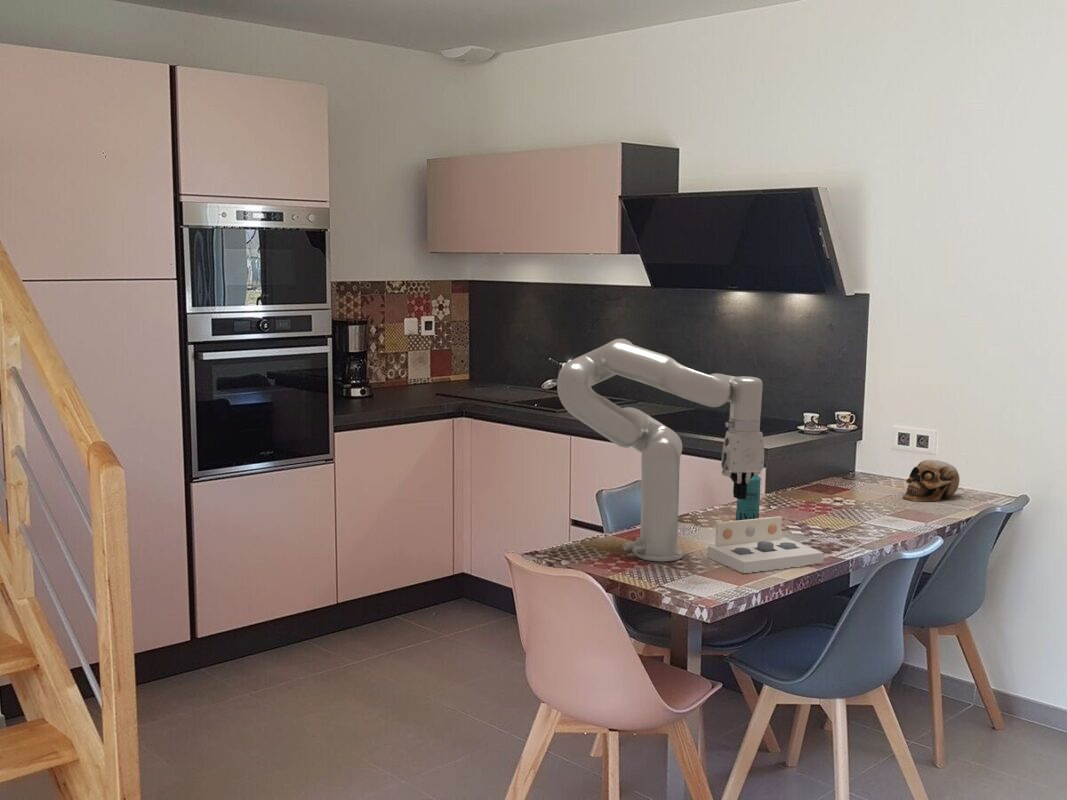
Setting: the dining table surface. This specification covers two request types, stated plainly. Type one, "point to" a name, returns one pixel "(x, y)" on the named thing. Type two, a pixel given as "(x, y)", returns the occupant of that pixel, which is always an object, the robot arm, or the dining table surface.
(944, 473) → the brown skull
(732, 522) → the button panel
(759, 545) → the button middle
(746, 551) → the button left
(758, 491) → the beverage bottle
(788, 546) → the button right
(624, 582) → the dining table surface
